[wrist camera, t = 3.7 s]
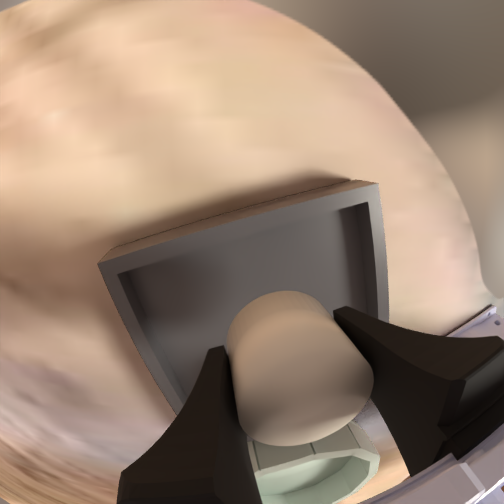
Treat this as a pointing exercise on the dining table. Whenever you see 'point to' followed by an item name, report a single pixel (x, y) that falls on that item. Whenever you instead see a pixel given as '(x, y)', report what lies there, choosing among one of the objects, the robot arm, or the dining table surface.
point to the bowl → (315, 468)
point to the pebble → (294, 370)
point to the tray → (246, 273)
